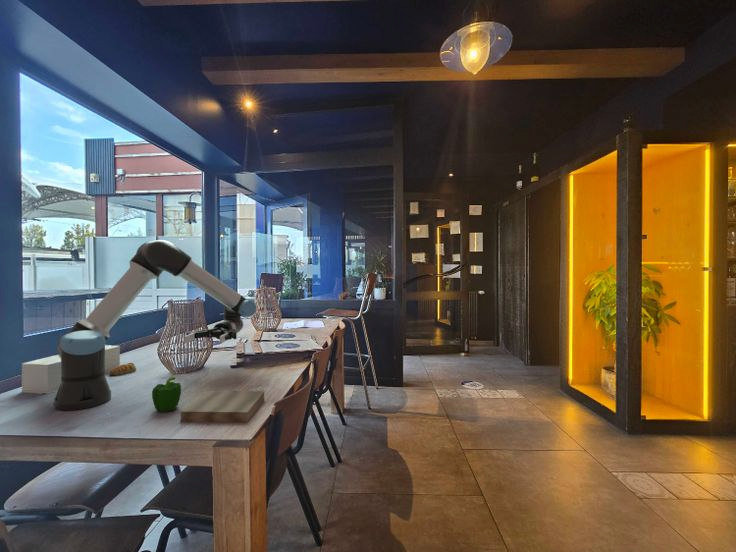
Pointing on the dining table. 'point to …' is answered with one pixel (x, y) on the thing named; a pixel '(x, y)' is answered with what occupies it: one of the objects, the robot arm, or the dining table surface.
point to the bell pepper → (166, 395)
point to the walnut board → (223, 406)
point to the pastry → (123, 369)
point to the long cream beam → (57, 371)
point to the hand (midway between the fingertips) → (203, 339)
